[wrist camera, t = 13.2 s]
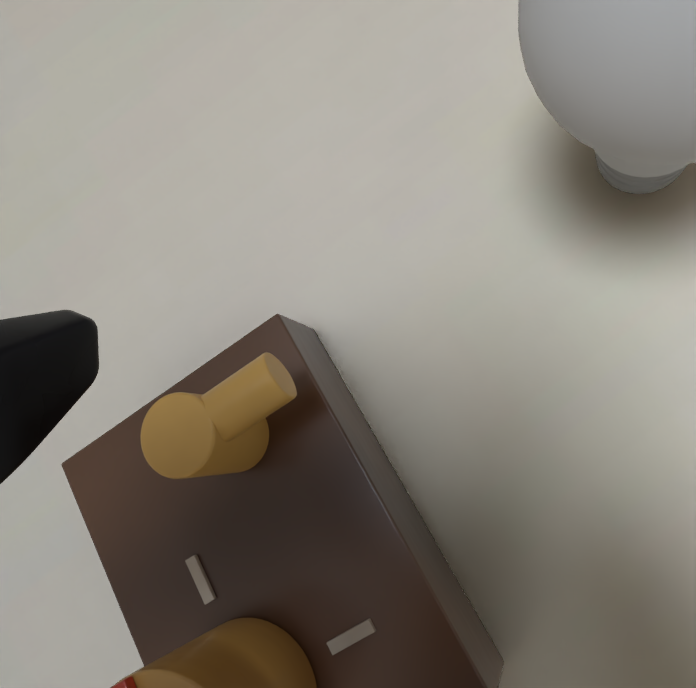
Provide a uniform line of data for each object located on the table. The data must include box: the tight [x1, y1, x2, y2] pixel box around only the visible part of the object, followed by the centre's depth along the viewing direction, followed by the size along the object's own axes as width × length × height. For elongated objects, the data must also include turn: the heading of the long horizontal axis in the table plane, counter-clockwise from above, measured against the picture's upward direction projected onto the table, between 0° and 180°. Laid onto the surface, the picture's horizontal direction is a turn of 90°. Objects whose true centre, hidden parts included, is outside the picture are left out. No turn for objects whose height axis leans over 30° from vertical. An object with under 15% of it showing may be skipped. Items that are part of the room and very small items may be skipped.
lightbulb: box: [518, 0, 696, 194], centre depth 15 cm, size 6×6×11 cm
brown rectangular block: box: [62, 314, 504, 688], centre depth 20 cm, size 13×10×3 cm
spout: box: [141, 352, 297, 479], centre depth 18 cm, size 2×4×3 cm, turn 121°
